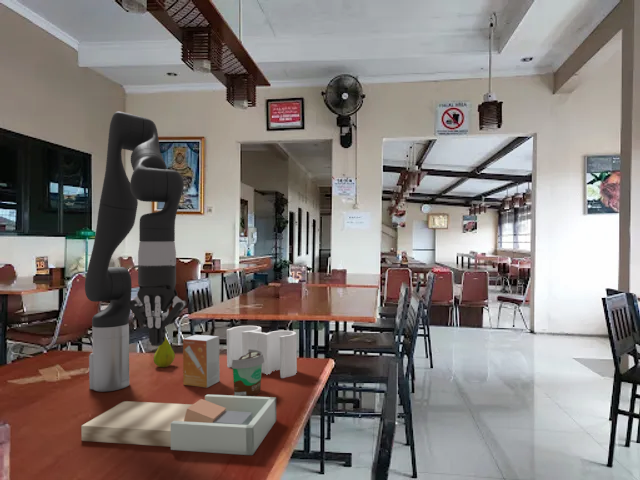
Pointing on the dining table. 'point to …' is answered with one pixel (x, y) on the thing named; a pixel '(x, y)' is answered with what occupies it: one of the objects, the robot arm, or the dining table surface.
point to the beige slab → (135, 423)
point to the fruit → (164, 354)
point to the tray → (227, 427)
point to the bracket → (264, 348)
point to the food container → (248, 373)
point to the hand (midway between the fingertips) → (157, 344)
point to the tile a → (203, 412)
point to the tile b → (234, 418)
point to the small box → (201, 360)
